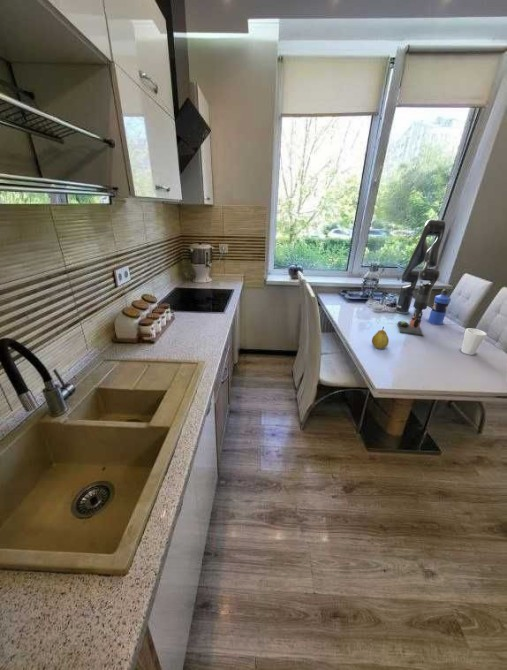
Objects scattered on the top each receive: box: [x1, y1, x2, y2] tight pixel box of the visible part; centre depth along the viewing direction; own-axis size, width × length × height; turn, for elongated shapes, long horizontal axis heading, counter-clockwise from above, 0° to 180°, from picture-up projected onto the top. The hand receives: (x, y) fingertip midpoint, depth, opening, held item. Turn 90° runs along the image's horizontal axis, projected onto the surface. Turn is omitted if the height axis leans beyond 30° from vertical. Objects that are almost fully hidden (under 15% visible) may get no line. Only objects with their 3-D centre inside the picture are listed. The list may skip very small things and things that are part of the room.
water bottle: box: [427, 288, 452, 326], centre depth 195 cm, size 9×9×25 cm
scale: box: [397, 320, 423, 337], centre depth 186 cm, size 16×14×2 cm
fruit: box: [371, 326, 390, 350], centre depth 159 cm, size 9×9×12 cm
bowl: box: [408, 317, 422, 328], centre depth 181 cm, size 6×6×5 cm
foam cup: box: [461, 327, 488, 356], centre depth 156 cm, size 10×9×13 cm
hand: (414, 324), depth 182 cm, fingers closed on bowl, 6 cm apart
